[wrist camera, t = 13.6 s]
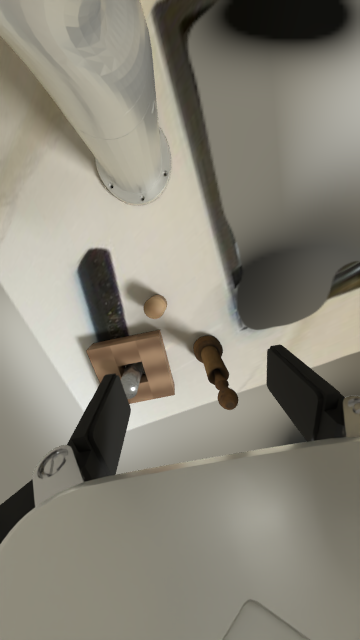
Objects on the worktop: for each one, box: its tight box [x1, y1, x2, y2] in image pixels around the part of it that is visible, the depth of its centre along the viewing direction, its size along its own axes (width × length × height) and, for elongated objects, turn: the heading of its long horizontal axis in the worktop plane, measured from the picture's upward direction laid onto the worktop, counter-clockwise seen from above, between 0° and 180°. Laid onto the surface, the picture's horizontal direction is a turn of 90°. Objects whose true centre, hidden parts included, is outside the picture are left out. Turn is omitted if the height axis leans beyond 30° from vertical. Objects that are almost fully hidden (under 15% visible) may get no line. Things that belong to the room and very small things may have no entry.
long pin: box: [121, 361, 144, 399], centre depth 39 cm, size 4×4×9 cm
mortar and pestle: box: [193, 336, 238, 410], centre depth 34 cm, size 7×6×18 cm
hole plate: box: [86, 330, 175, 404], centre depth 41 cm, size 16×16×4 cm
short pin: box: [144, 295, 167, 319], centre depth 36 cm, size 4×4×5 cm
